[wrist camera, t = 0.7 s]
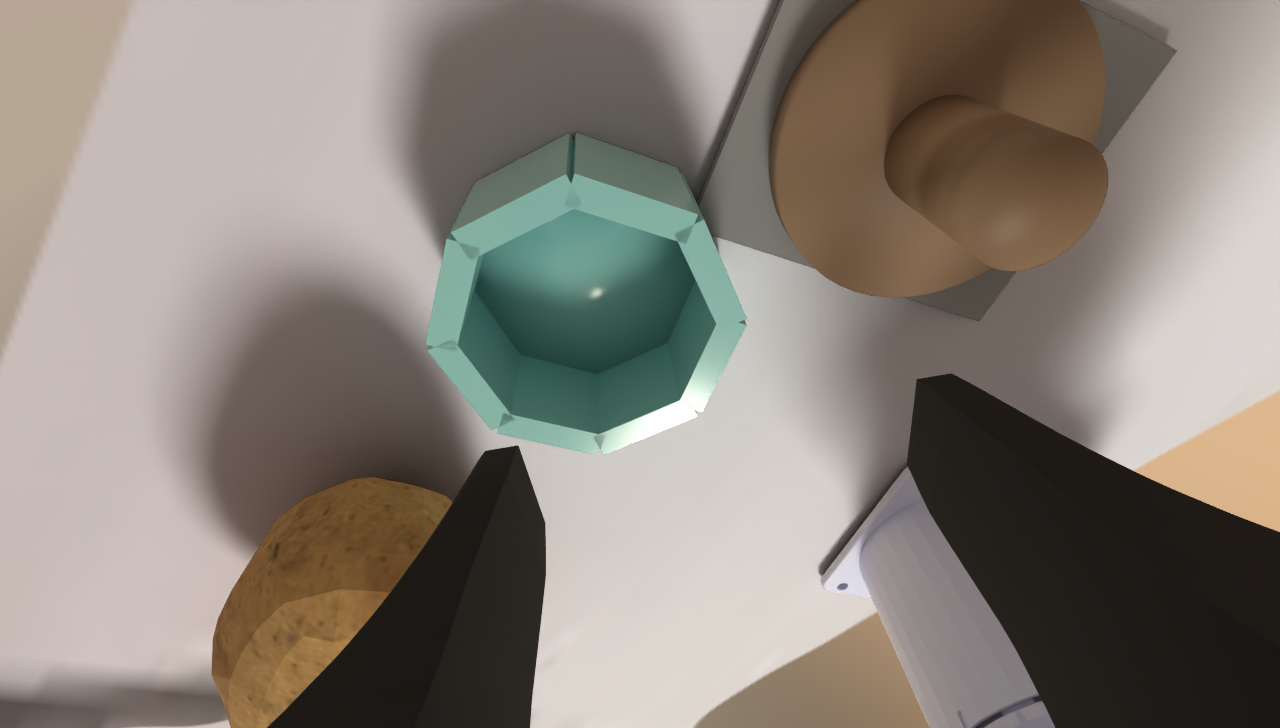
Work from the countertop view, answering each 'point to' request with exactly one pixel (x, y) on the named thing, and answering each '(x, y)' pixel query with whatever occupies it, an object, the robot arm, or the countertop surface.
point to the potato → (315, 590)
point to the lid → (941, 141)
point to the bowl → (583, 299)
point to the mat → (741, 164)
